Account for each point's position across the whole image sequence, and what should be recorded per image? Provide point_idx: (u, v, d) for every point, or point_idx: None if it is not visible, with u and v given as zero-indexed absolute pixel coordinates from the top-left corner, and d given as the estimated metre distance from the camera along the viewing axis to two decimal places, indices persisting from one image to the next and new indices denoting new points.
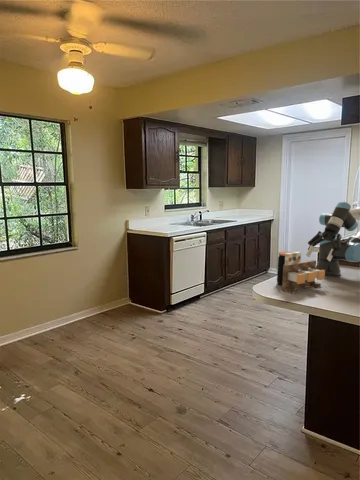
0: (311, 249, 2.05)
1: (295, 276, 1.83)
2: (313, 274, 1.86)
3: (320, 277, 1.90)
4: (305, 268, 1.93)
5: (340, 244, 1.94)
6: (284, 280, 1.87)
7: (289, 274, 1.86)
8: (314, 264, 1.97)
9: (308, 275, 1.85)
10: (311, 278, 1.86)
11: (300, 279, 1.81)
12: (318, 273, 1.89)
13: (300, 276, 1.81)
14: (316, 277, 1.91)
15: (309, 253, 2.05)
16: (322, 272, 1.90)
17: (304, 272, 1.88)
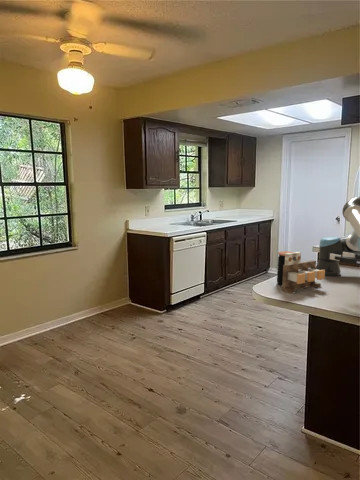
0: None
1: (295, 276, 1.83)
2: (313, 274, 1.86)
3: (320, 277, 1.90)
4: (305, 268, 1.93)
5: None
6: (284, 280, 1.87)
7: (289, 274, 1.86)
8: (314, 264, 1.97)
9: (308, 275, 1.85)
10: (311, 278, 1.86)
11: (300, 279, 1.81)
12: (318, 273, 1.89)
13: (300, 276, 1.81)
14: (316, 277, 1.91)
15: None
16: (322, 272, 1.90)
17: (304, 272, 1.88)
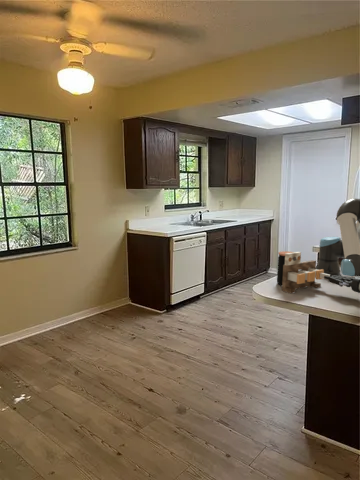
0: None
1: (295, 276, 1.83)
2: (313, 274, 1.86)
3: (319, 277, 1.90)
4: (305, 268, 1.93)
5: None
6: (284, 280, 1.87)
7: (289, 274, 1.86)
8: (314, 264, 1.97)
9: (308, 275, 1.85)
10: (311, 278, 1.86)
11: (300, 279, 1.81)
12: (317, 273, 1.90)
13: (300, 276, 1.81)
14: (315, 277, 1.91)
15: None
16: (321, 272, 1.91)
17: (304, 272, 1.88)
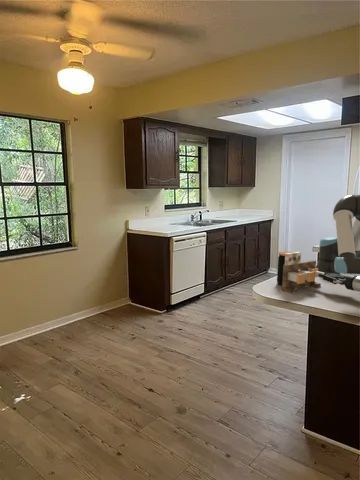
0: None
1: (295, 276, 1.83)
2: (313, 274, 1.86)
3: None
4: (305, 268, 1.93)
5: None
6: (284, 280, 1.87)
7: (289, 274, 1.86)
8: (314, 264, 1.97)
9: (308, 275, 1.85)
10: (311, 278, 1.86)
11: (300, 279, 1.81)
12: (311, 271, 1.93)
13: (300, 276, 1.81)
14: None
15: None
16: (315, 270, 1.94)
17: (304, 272, 1.88)
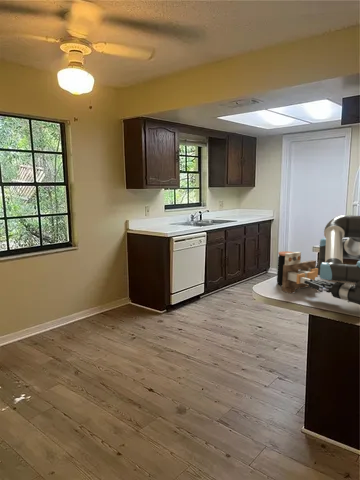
0: None
1: (295, 276, 1.83)
2: (313, 274, 1.86)
3: None
4: (305, 268, 1.93)
5: None
6: (284, 280, 1.87)
7: (289, 274, 1.86)
8: (314, 264, 1.97)
9: (308, 275, 1.85)
10: (311, 278, 1.86)
11: None
12: (311, 271, 1.93)
13: (300, 276, 1.81)
14: None
15: None
16: (315, 270, 1.94)
17: (304, 272, 1.88)
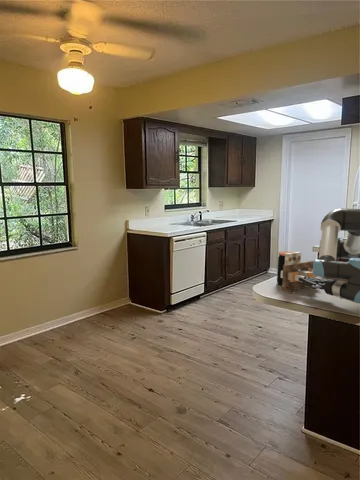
0: None
1: (288, 274, 1.86)
2: (313, 274, 1.86)
3: None
4: (305, 268, 1.93)
5: (318, 279, 1.78)
6: (284, 280, 1.87)
7: None
8: None
9: (308, 275, 1.85)
10: None
11: (293, 277, 1.85)
12: (311, 271, 1.93)
13: (293, 274, 1.85)
14: None
15: None
16: None
17: (304, 272, 1.88)
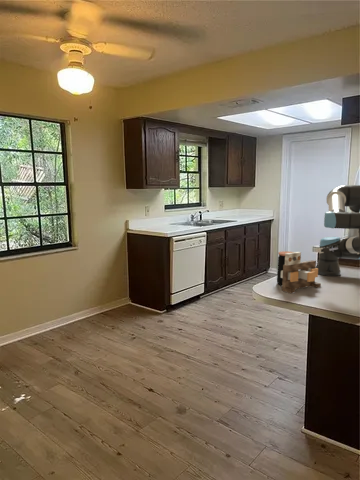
0: None
1: (288, 274, 1.86)
2: (313, 274, 1.86)
3: None
4: (305, 268, 1.93)
5: None
6: (284, 280, 1.87)
7: None
8: (314, 264, 1.97)
9: (308, 275, 1.85)
10: (311, 278, 1.86)
11: (293, 277, 1.85)
12: (311, 271, 1.93)
13: (293, 274, 1.85)
14: None
15: None
16: (315, 270, 1.94)
17: (304, 272, 1.88)
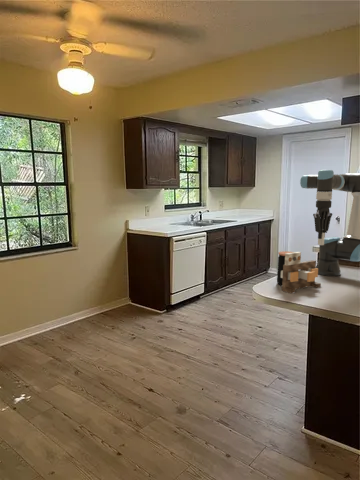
0: None
1: (288, 274, 1.86)
2: (313, 274, 1.86)
3: None
4: (305, 268, 1.93)
5: None
6: (284, 280, 1.87)
7: None
8: (314, 264, 1.97)
9: (308, 275, 1.85)
10: (311, 278, 1.86)
11: (293, 277, 1.85)
12: (311, 271, 1.93)
13: (293, 274, 1.85)
14: None
15: None
16: (315, 270, 1.94)
17: (304, 272, 1.88)
